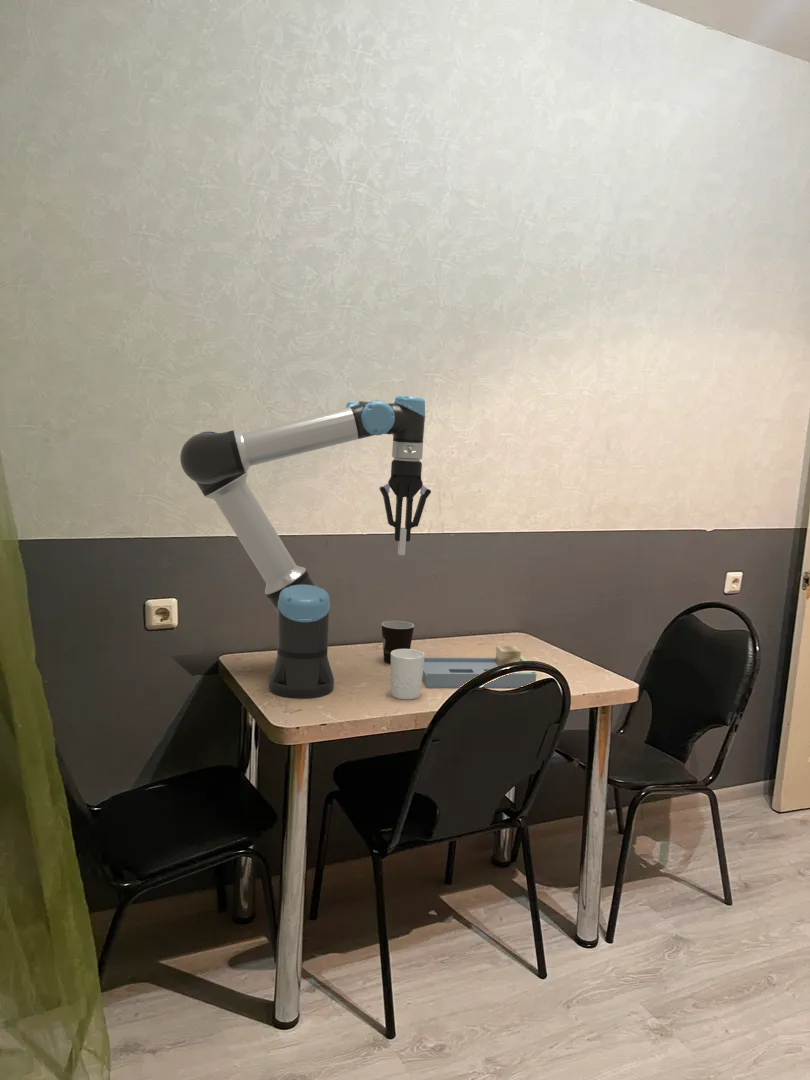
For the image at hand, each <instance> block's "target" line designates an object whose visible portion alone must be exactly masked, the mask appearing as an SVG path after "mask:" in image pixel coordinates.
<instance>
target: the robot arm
mask: <svg viewBox="0 0 810 1080" xmlns="http://www.w3.org/2000/svg"><path fill="white" fill-rule="evenodd" d="M425 401H426V400H425V399H424V398H423V397H420V396H410V395H409V396H407V395H397V396H396V397H395V398H394V403H389V402H388V403H387V402H385V401H384V400H379V399H376V400H371V401H360V400H357V401H353V400H351V401H348V402H347V403H346V406H345V407H343V408H340V409H336V410H332V411H327V412H323V413H320V414H315V415H311V416H307V417H303V418H302V417H301V418H299V419H294V420H291V421H286V422H282V423H278V424H274V425H269V426H265V427H259V428H257V429H253V430H249V431H244V432H240V431H238V430H236V429H234V430H233V429H232V430H229V431H224V432H216V431H209V430H208V431H202V432H200V433H197V434H195V435H193V436H191V437H190V438H188V440H187V441H185V442H184V444H183V446H182V447H181V451H180V457H179V459H180V466H181V468H182V470H183V472H184V473H185V475H186V476H187V477H188V478H189V479H191V480H192V481H193V482H195V483H196V485H197V486H198V488H199V490H200V491H201V493H202V494H203V496H204V498H207V499H210V500H213V501H214V502H215V503H216V506H218V508H219V509H220V512H221V513H222V514H223V517H224V518H225V519H226V521H227V523H228V524H229V525H230V526H229V527H231V528H232V530H233V532H234V534H235V535H236V537H237V539H238V541H239V542H240V544H241V545H242V547H243V548H244V550H245V551H246V553H247V555H248V556H249V558H250V560H251V561H252V563H253V564H254V567H256V569H257V571H258V573H259V574H260V576H261V577H262V579H263V581H264V582H265V589H264V594H265V596H266V597H267V599H268V601H269V602H270V604H271V605H272V607H273V608H274V610H275V612H276V614H277V648H276V649H277V650H276V652H277V654H276V658H275V660H274V663H273V666H272V668H271V671H270V674H269V676H268V677H269V678H268V690H269V691H270V692H272V693H273V694H275V695H279V696H281V697H287V698H294V699H308V698H309V699H310V698H317V697H322V696H327V695H329V694H330V693H331V692H333V690H334V687H335V686H334V684H335V679H334V675H333V671H332V668H331V664H330V662H329V661H330V660H329V657H328V647H329V645H328V644H329V623H330V622H329V619H330V608H331V602H330V595H329V593H328V592H327V590H325V589H324V588H322V587H319V586H318V585H317V584H316V583H315V582H314V580H313V578H312V577H311V575H310V573H309V572H308V570H307V568H306V567H304V566H299V565H297V564H296V562H295V560H294V559H293V557H292V556H291V554H290V552H289V551H288V549H287V547H286V546H285V544H284V543H283V541H282V539H281V538H280V536H279V535H278V532H277V531H276V530H275V528H274V525H273V524H272V523H271V521H270V519H269V518H268V516H267V514H266V513H265V511H264V510H263V508H262V506H261V504H260V503H259V501H258V500H257V498H256V497H255V495H254V492H252V490H251V489H250V487H249V484H248V483H247V477H248V471H249V469H250V467H252V466H256V465H260V464H264V463H268V462H273V461H276V460H280V459H284V458H289V457H292V456H296V455H300V454H305V453H308V452H312V451H317V450H320V449H323V448H327V447H332V446H335V445H340V444H344V443H348V442H352V441H357V440H361V439H365V438H369V437H373V436H383V435H392V446H391V447H392V449H391V450H392V452H391V457H392V458H393V459H392V461H391V466H390V476H389V477H390V478H389V480H388V482H387V483H386V484H384V485H383V486H379V488H378V489H379V492H380V493H381V494H382V496H383V497H382V498H383V502H384V508H385V514H386V520H387V524H388V525H389V526H391V527H393V528H394V541H395V542H397V543H398V544H397V554H398V555H399V556H406V544H407V542H410V540H411V530H412V529H413V528H416V527H418V526H419V525H420V521H421V517H422V515H423V511H424V509H425V504H426V501H427V498H428V497H429V496H430V495H431V493H432V490H431V489H429V488H427V487H426V486H424V483H423V480H422V472H423V471H422V470H423V469H422V468H423V464H422V461H420V460H422V459H423V450H424V435H425V434H424V433H425V422H426V421H425V420H426V402H425ZM390 489H391V490H392V492H393V494H394V495H395V499H396V502H395V515H394V516H393V511H392V505H391V500H390V495H389V494H390V492H391V491H390ZM419 491H420V492H419ZM418 492H419V494H420V496H419V500H418V503H417V506H416V509H415V513H414V516H413V506H414V505H413V504H414V503H413V502H414V497H415V496H417V493H418ZM404 498H406V499H405V500H406V501H405V503H406V504H405V517H404V518H405V521H404V522H405V523H404V525H405V526H404V527H402V514H403V501H404ZM412 519H413V520H412Z"/></svg>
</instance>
